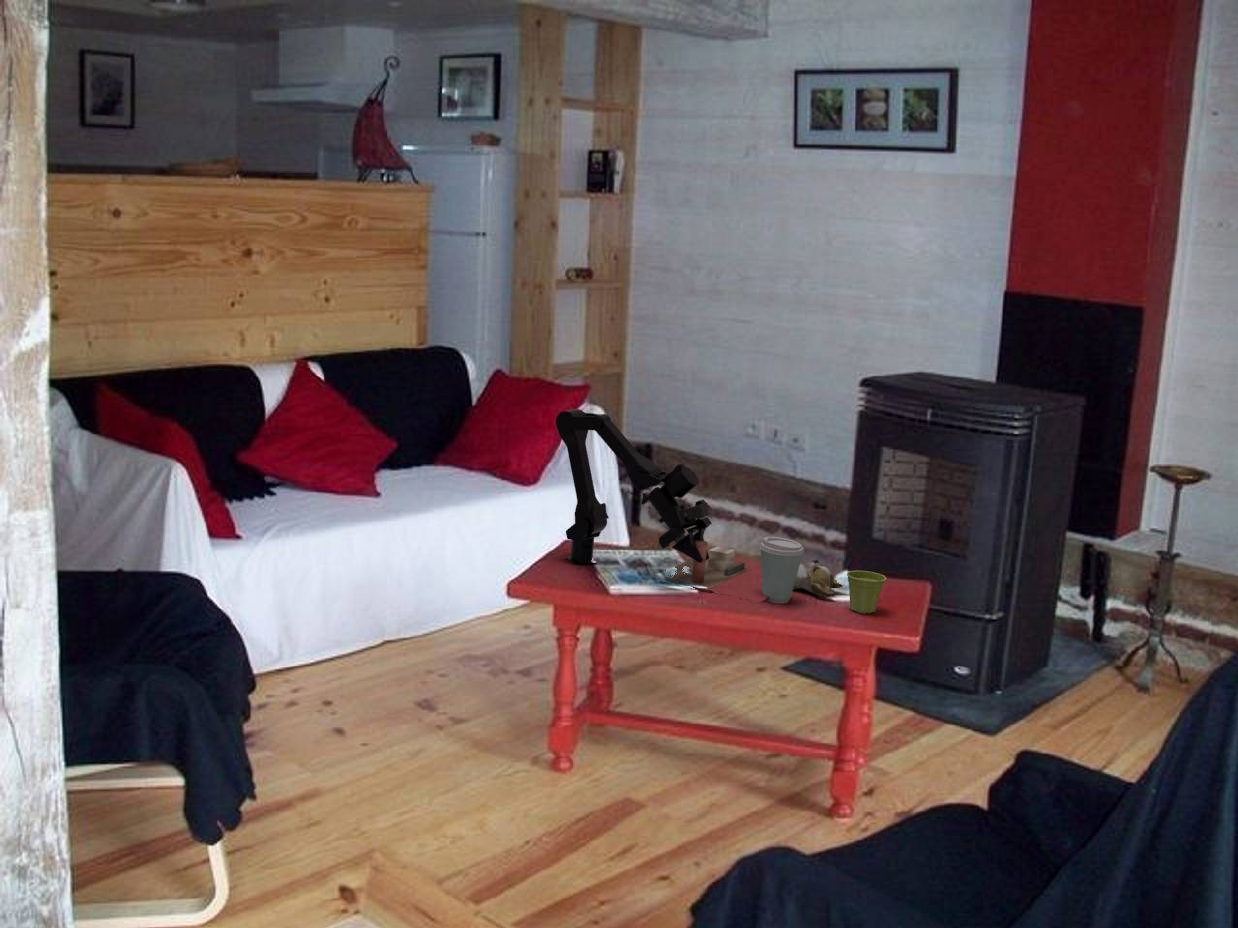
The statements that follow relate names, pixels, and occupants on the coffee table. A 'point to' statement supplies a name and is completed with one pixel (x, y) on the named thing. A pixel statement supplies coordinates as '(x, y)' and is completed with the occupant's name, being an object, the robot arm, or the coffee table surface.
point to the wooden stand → (705, 571)
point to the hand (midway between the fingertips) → (704, 560)
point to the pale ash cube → (720, 559)
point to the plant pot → (864, 590)
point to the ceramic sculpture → (816, 579)
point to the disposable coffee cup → (779, 567)
